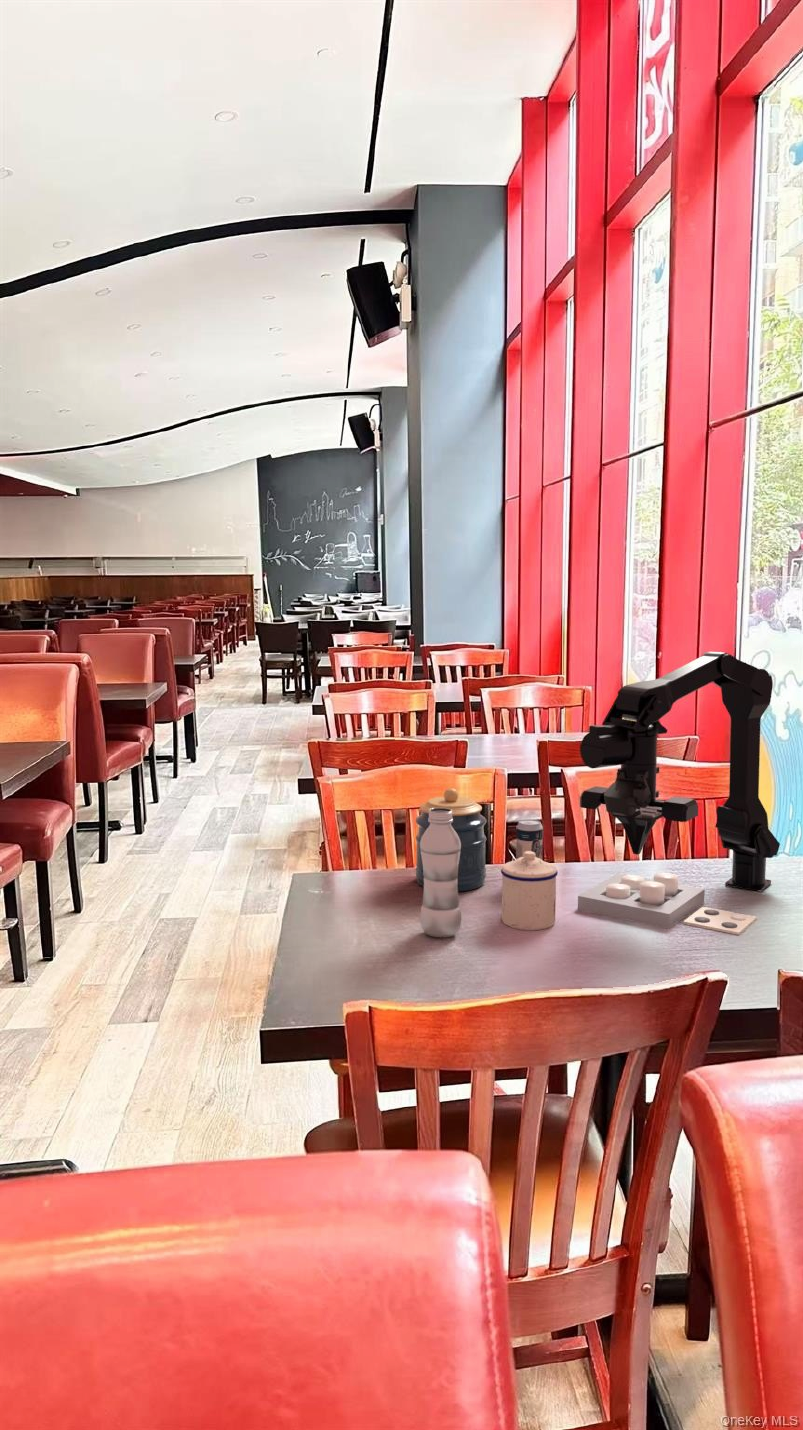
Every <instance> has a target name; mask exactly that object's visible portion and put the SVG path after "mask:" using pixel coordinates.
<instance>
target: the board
mask: <svg viewBox="0 0 803 1430" xmlns="http://www.w3.org/2000/svg"><path fill="white" fill-rule="evenodd" d="M626 875H627V874H624V873H623V874H622V873H616V874H614V875H612V876H610V877H609V878H607V879H605V880H603V881H602V882H600V883H598V884H597V885H595V886H593V887H591V888H589V889H588V890H587V889H586V891H584V892H582V893H580V894H578V895H577V910H579V911H583V912H588V913H592V914H593V913H594V914H598V915H603V916H606V917H607V916H608V917H612V918H616V919H621V920H626V921H631V922H636V923H639V924H640V923H641V924H646V925H651V926H656V927H660V928H664V929H671V928H672V927H673V926H674V925H676V924H677V923H679V922H680V921H681V920H683V919H684V918H686V917H687V916H688V915H689V914H690V913H691V914H692V912H694V911H695V910H696V909H697V908H699V907H701V906H702V904H704V903H705V890H706V889H705V888H702V887H701V888H700V887H696V886H691V885H685V884H679V883H678V894H677V895H676V896H674V897H671V896H666V895H664V904H662V905H661V906H655V905H650V904H645V903H640V902H639V898H640V891H639V890H634V889H630V897H629V898H627V899H620V898H615V897H610V896H606V886H607V885H608V884H615V883H617V884H621V877H622V876H626ZM643 878H644V879H645V880H644V882H646V881H653V882H654V879H651V878H645V877H643Z"/></svg>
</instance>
